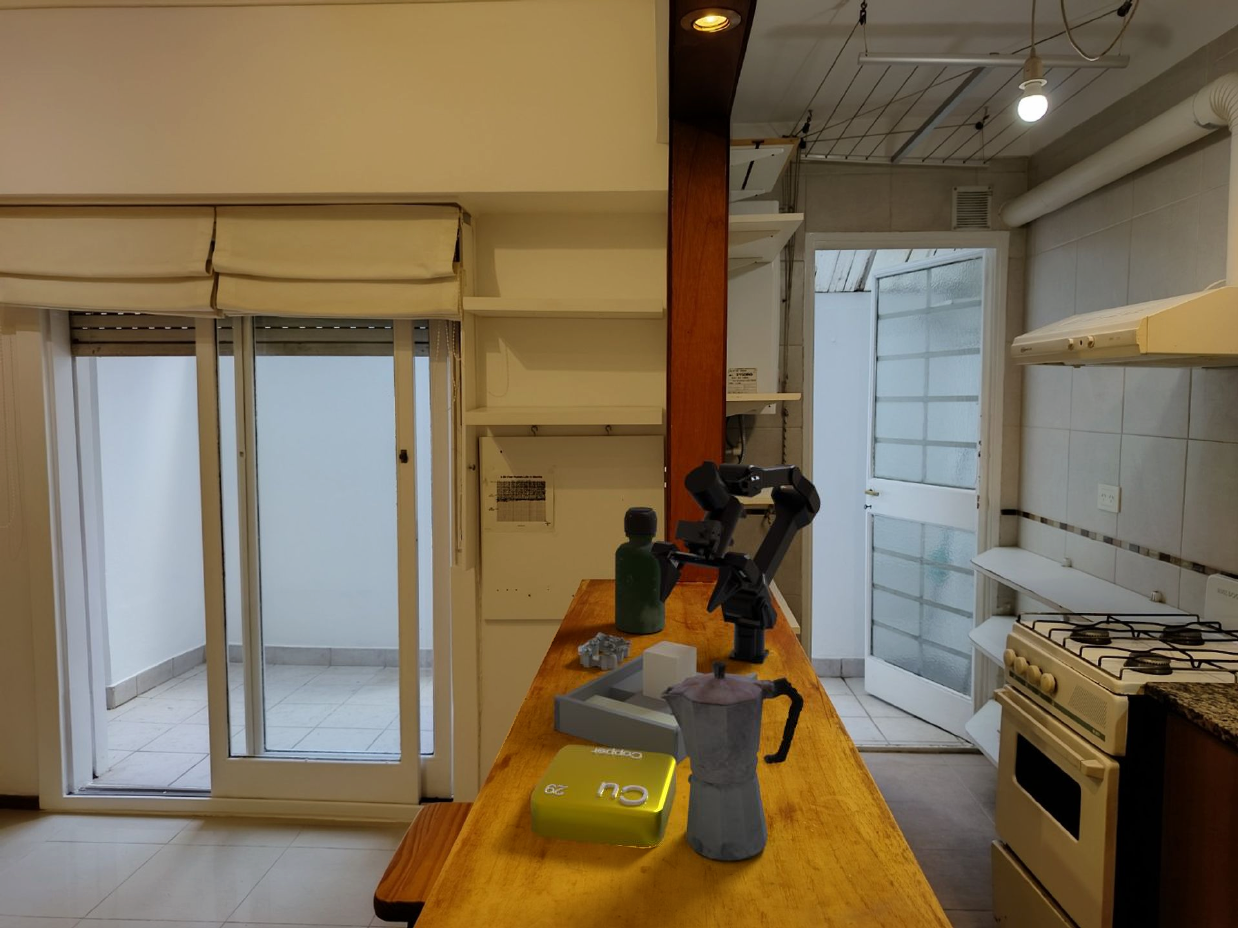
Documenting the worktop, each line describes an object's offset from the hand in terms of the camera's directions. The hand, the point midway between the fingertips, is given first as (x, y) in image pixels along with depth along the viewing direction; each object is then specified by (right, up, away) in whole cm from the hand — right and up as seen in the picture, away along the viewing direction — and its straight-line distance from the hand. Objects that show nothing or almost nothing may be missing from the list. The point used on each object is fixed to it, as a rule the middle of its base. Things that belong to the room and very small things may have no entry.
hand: (684, 606), depth 127 cm
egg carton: (-13, -13, +16) cm, 25 cm away
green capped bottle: (-6, -11, +36) cm, 38 cm away
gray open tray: (-4, -15, -8) cm, 18 cm away
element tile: (-12, -18, -35) cm, 41 cm away
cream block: (-3, -12, -6) cm, 14 cm away
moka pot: (+1, -18, -41) cm, 45 cm away
